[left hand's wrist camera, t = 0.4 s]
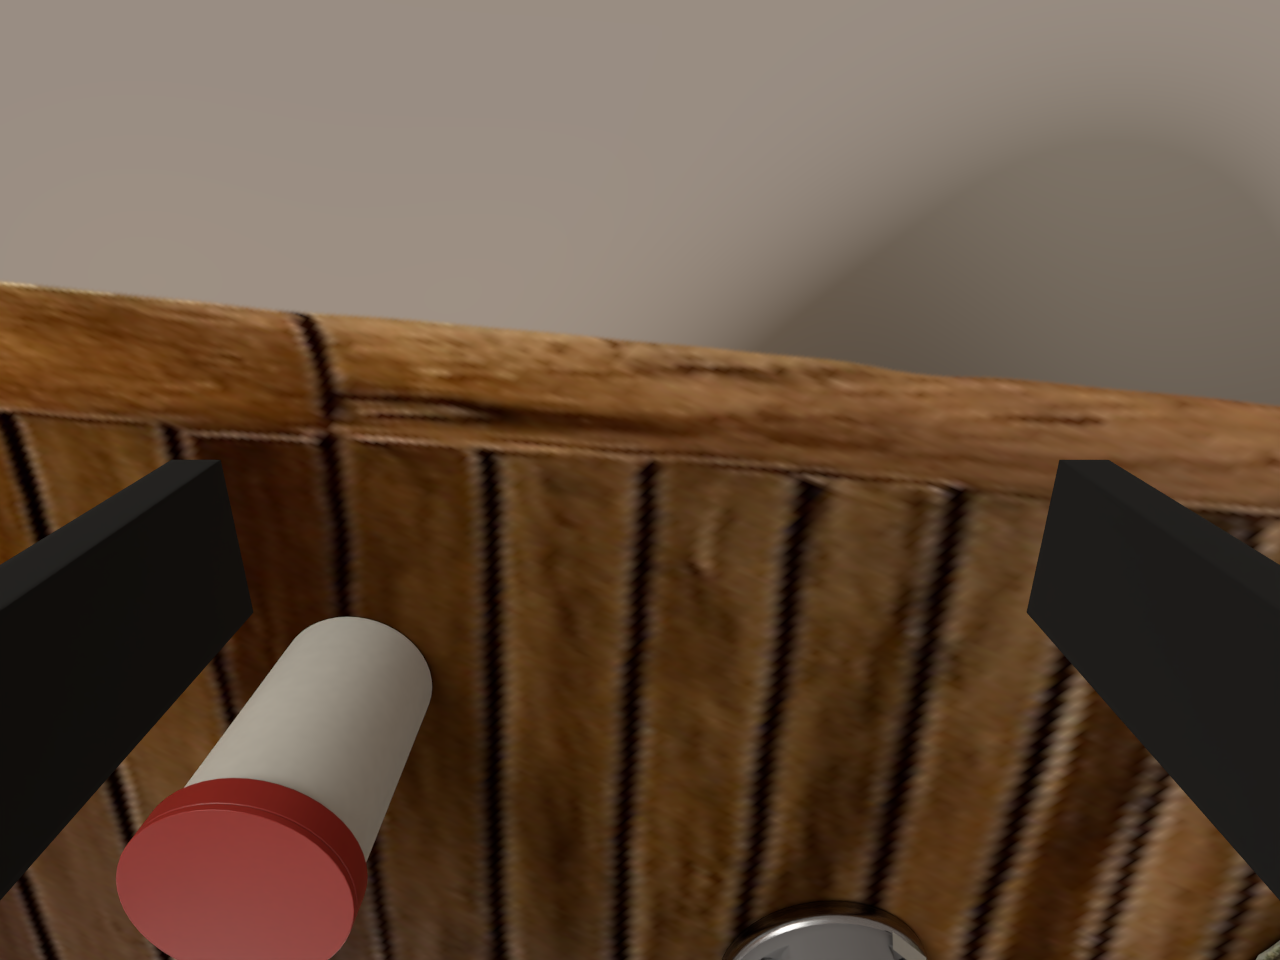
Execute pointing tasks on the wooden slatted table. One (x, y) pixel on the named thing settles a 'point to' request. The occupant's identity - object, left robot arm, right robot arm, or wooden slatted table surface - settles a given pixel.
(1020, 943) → the wooden slatted table surface
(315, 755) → the jar
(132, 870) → the lid
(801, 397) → the wooden slatted table surface
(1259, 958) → the fossil
